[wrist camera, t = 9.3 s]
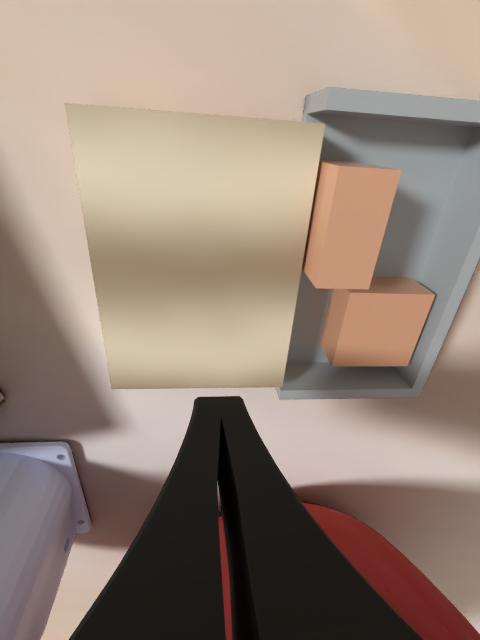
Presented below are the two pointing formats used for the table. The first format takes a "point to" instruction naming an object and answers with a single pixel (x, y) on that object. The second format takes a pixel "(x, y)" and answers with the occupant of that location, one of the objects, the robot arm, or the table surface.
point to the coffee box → (2, 399)
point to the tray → (397, 228)
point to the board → (194, 241)
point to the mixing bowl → (378, 577)
